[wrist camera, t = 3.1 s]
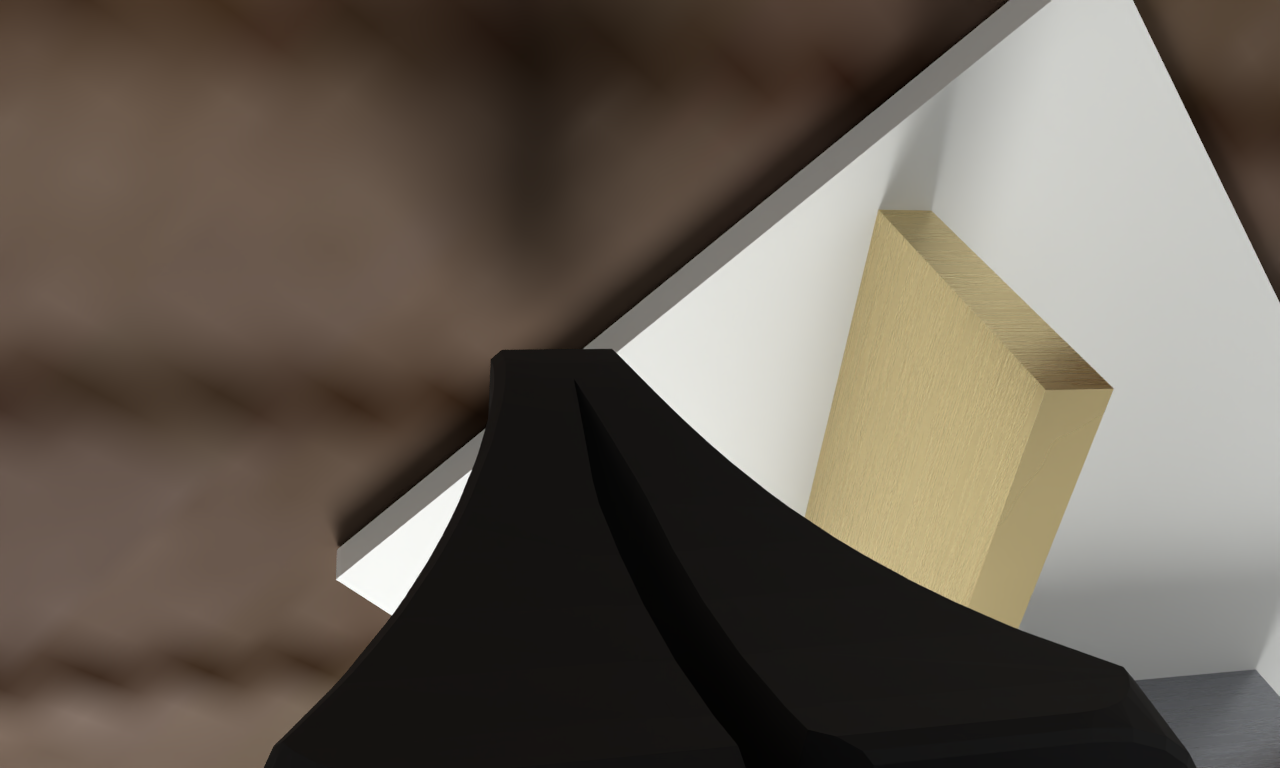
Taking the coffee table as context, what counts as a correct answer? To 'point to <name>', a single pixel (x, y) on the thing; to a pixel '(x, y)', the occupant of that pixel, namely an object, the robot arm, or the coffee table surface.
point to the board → (1050, 284)
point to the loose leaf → (952, 423)
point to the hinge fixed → (1221, 717)
